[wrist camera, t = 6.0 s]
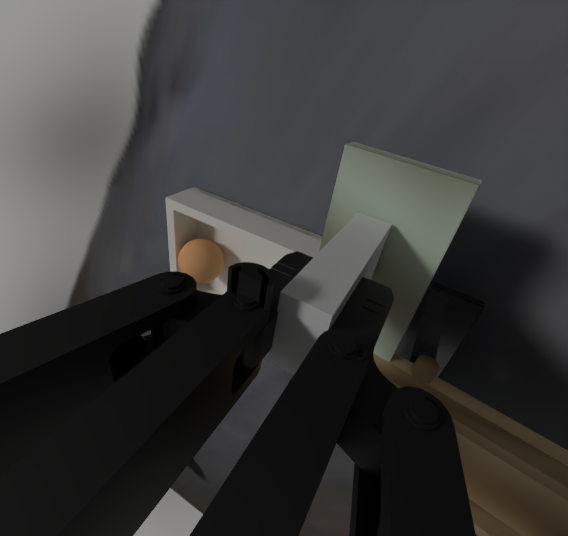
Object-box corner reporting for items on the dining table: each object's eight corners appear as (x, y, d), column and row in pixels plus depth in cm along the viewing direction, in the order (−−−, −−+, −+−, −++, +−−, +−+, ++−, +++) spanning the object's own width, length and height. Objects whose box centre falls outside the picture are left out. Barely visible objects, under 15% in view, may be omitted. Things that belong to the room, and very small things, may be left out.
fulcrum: (414, 275, 20) (396, 321, 16) (484, 303, 18) (482, 360, 15) (370, 369, 25) (348, 420, 21) (422, 395, 24) (409, 456, 20)
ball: (234, 243, 25) (203, 226, 26) (198, 260, 22) (166, 240, 24) (231, 279, 27) (203, 261, 28) (199, 298, 24) (169, 277, 26)
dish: (194, 186, 25) (165, 197, 23) (339, 243, 21) (321, 262, 19) (195, 281, 31) (172, 297, 28) (312, 341, 27) (295, 365, 24)
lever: (354, 141, 13) (325, 149, 12) (1078, 358, 7) (1280, 459, 5) (293, 378, 22) (271, 404, 20) (574, 573, 16) (578, 637, 14)
